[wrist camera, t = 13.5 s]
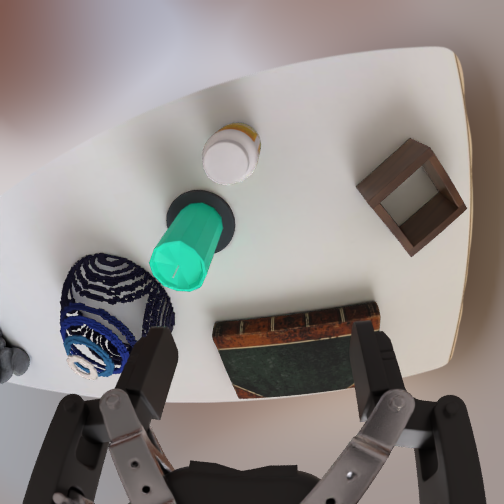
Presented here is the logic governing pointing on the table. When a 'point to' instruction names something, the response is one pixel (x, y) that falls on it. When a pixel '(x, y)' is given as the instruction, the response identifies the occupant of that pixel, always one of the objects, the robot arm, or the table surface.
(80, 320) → the decorative bowl
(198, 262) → the candle
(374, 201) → the square wooden box
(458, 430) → the robot arm
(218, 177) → the supplement bottle
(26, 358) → the koala plush
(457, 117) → the table surface
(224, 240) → the coaster
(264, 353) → the book
